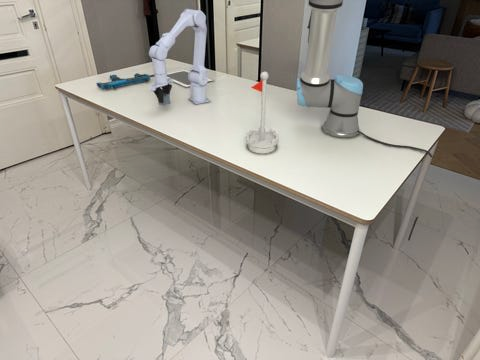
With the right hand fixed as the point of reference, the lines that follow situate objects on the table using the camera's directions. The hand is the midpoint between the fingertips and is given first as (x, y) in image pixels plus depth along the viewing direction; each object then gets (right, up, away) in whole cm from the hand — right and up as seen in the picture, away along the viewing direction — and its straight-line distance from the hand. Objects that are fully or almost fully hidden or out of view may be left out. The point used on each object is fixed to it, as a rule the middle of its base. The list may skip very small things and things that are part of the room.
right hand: (314, 40), depth 169 cm
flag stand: (-28, -56, -32) cm, 71 cm away
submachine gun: (-108, -9, +41) cm, 116 cm away
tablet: (-72, -5, +47) cm, 86 cm away
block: (-74, -32, -2) cm, 81 cm away
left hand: (-74, -31, -3) cm, 80 cm away
